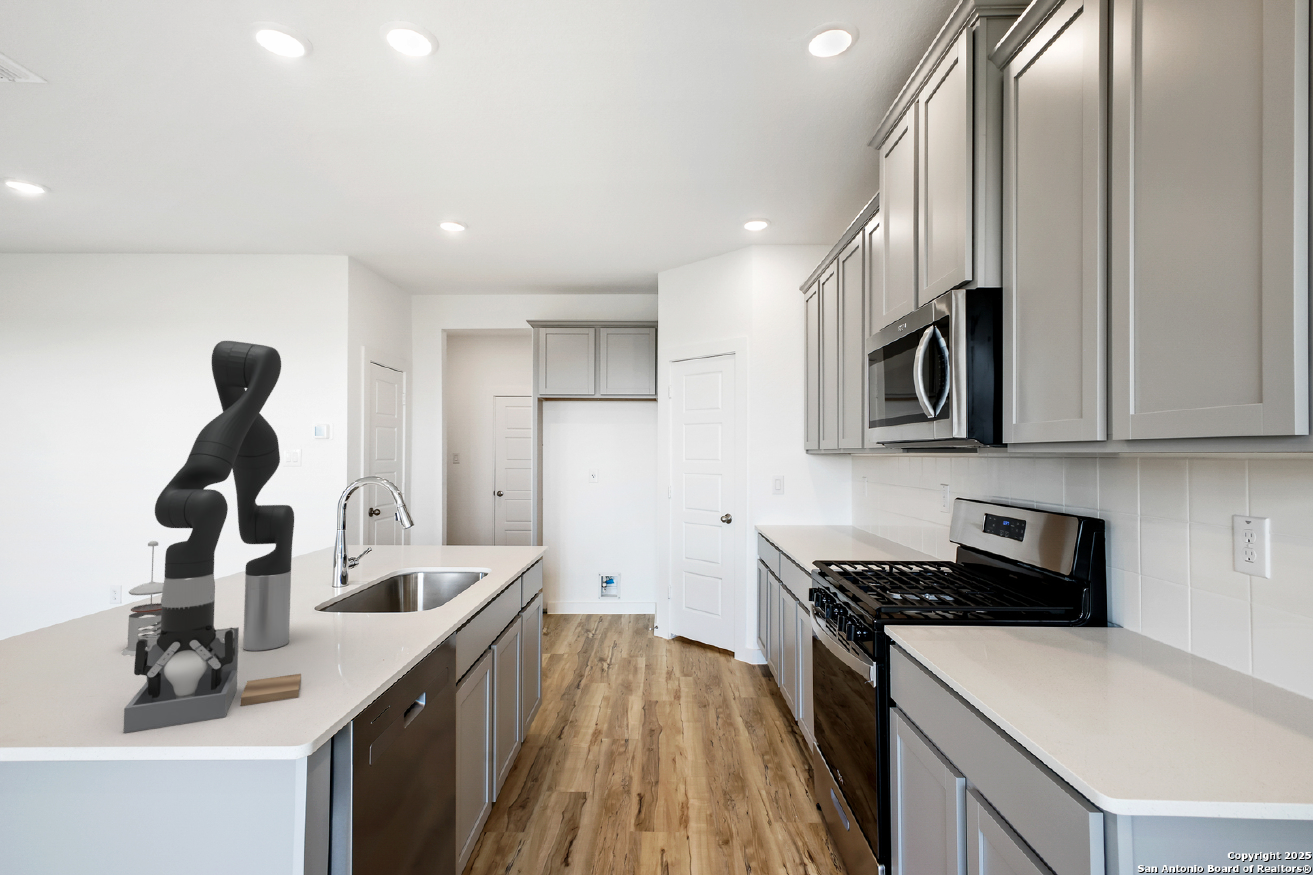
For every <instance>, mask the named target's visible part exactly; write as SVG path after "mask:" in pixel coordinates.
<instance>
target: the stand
mask: <svg viewBox="0 0 1313 875" xmlns="http://www.w3.org/2000/svg"><path fill="white" fill-rule="evenodd" d="M301 681H302V673H296V674H288V675H282V676H273V677H266V678H259V679H258V678H257V679H252V680H247V681H246V684H245V686H244V688H243V691H242V693H241V695H240V704H239V705H240V707H243V706H250V705H257V704H263V703H271V702H277V701H282V700H289V699H290V698H291V699H296V698H299V694H300V690H301ZM291 699H290V700H291Z"/></svg>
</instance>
